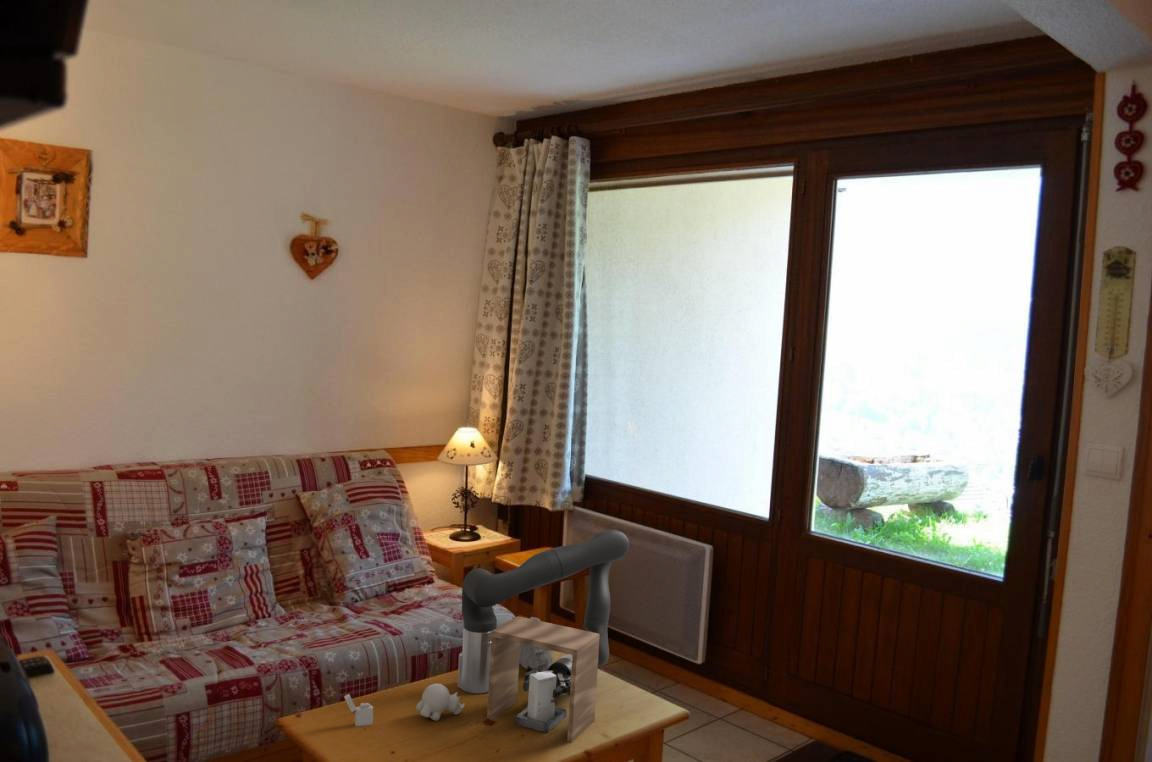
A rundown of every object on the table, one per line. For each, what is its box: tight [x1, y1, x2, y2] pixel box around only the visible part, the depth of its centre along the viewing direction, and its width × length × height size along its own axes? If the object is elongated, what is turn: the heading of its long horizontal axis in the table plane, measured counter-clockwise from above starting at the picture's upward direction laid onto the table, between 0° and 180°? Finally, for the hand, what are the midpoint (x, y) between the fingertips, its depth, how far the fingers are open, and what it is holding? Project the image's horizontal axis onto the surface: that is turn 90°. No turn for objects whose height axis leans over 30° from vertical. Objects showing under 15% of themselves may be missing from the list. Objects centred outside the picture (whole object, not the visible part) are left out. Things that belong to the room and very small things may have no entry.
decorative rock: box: [519, 616, 554, 672], centre depth 268 cm, size 16×7×15 cm, turn 31°
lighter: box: [343, 693, 374, 727], centre depth 224 cm, size 7×2×8 cm, turn 113°
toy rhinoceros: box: [415, 683, 465, 722], centre depth 232 cm, size 7×12×8 cm, turn 114°
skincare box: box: [527, 671, 557, 722], centre depth 233 cm, size 6×4×12 cm
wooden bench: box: [486, 615, 600, 744], centre depth 232 cm, size 24×14×24 cm, turn 65°
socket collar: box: [514, 706, 567, 734], centre depth 233 cm, size 9×11×2 cm
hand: (539, 691), depth 231 cm, fingers open, 8 cm apart
